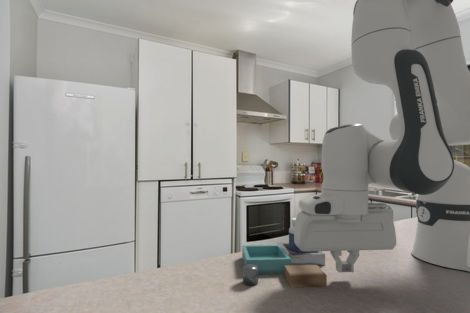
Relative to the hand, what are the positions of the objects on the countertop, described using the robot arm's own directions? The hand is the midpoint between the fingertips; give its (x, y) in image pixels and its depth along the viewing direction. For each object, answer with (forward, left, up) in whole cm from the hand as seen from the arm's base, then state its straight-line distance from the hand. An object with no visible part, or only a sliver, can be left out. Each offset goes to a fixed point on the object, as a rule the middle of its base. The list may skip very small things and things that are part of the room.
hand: (344, 271), depth 52 cm
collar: (+5, -12, -2) cm, 13 cm away
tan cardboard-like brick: (+8, 0, -2) cm, 9 cm away
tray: (+15, -9, -2) cm, 17 cm away
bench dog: (+19, 0, -2) cm, 19 cm away
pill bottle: (+5, -12, -2) cm, 13 cm away
